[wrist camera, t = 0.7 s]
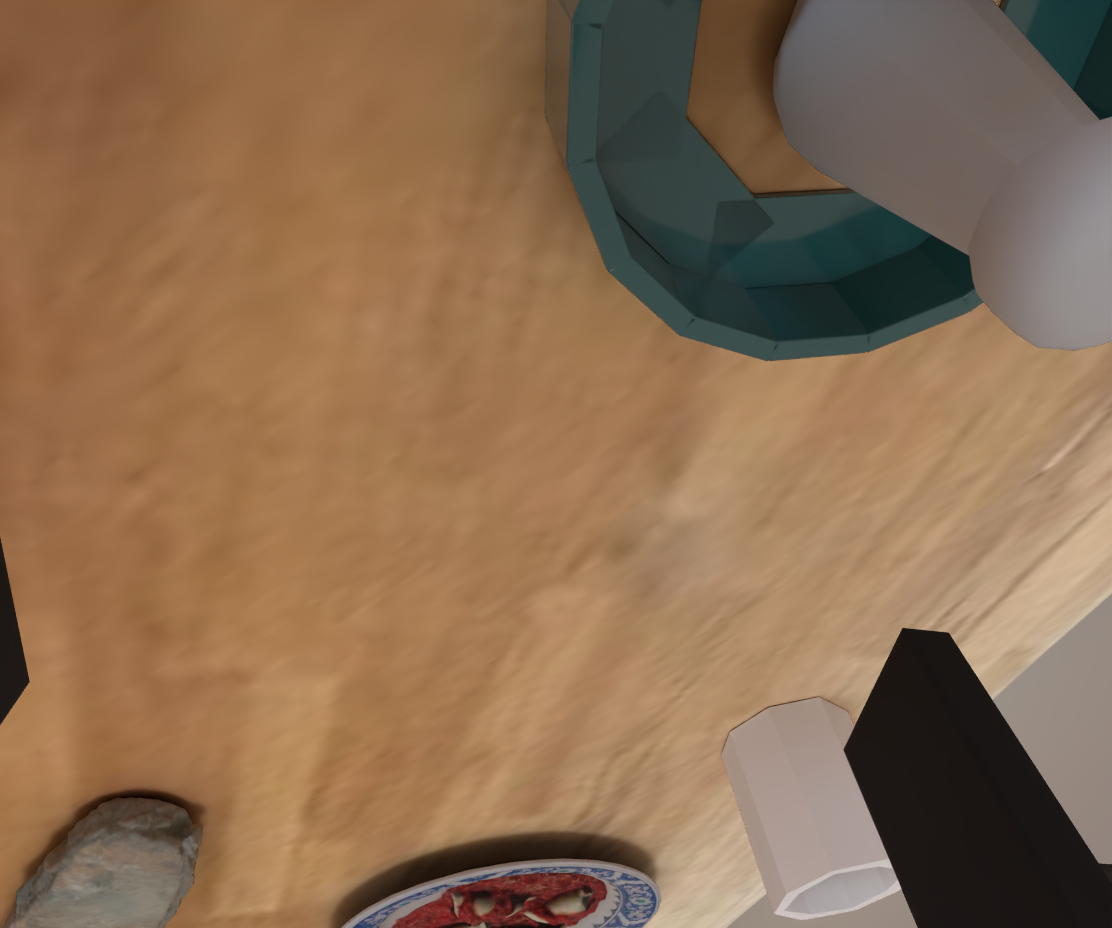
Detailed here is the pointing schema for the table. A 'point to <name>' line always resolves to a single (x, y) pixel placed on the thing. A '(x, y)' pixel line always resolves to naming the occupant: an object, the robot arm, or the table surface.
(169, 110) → the table surface
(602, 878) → the ceramic plate
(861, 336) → the teal ring
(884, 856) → the mug
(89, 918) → the elongated rock
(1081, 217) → the salt shaker
